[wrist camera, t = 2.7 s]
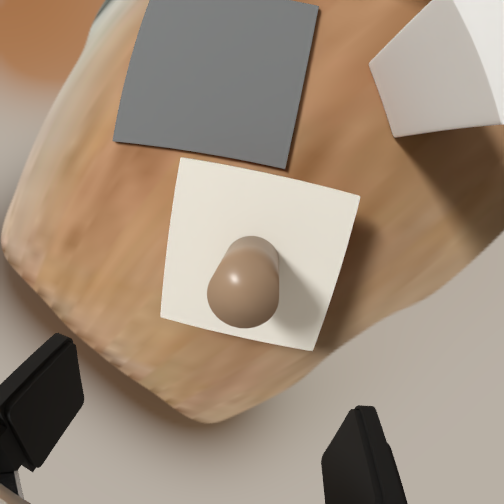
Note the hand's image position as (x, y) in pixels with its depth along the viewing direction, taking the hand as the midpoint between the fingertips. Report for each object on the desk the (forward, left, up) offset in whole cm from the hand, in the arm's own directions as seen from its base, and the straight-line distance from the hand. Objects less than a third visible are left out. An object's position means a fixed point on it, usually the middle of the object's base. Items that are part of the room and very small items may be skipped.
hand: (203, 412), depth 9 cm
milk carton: (-11, -17, -20) cm, 28 cm away
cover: (0, 0, -15) cm, 15 cm away
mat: (+7, -15, -19) cm, 26 cm away
